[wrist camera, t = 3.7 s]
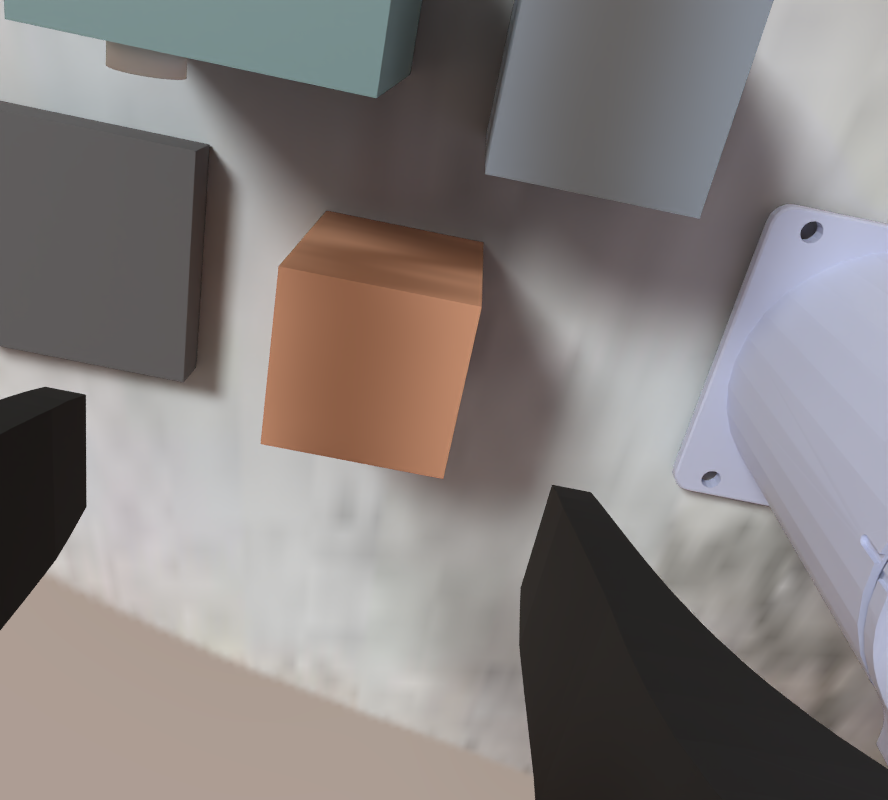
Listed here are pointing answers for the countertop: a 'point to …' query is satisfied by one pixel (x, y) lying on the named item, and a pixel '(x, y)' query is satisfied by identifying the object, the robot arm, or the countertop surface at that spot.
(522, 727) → the countertop surface
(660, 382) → the countertop surface
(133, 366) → the mat
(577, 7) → the slate block
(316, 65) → the box
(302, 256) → the terracotta block
